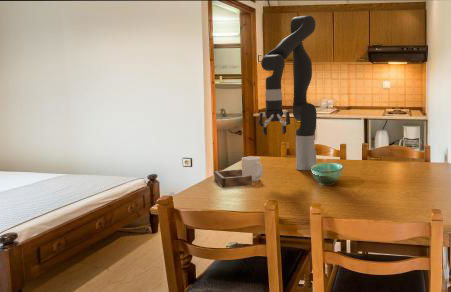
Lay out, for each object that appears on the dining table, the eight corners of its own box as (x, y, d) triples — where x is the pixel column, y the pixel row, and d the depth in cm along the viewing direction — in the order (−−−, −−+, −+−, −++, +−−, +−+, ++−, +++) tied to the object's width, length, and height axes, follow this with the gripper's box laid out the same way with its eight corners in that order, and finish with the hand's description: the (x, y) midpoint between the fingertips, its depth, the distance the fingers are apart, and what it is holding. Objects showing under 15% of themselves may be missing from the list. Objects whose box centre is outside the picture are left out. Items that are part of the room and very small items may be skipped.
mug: (269, 181, 230) (268, 158, 228) (255, 183, 225) (254, 161, 223) (252, 177, 239) (251, 155, 238) (238, 179, 234) (238, 158, 233)
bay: (241, 177, 240) (241, 169, 239) (251, 185, 223) (251, 176, 222) (214, 179, 237) (214, 171, 236) (222, 187, 220) (222, 178, 219)
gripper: (286, 98, 235) (287, 132, 238) (256, 99, 233) (257, 134, 235) (291, 98, 228) (291, 134, 230) (260, 100, 226) (261, 136, 228)
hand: (274, 134), depth 233 cm, fingers open, 8 cm apart
